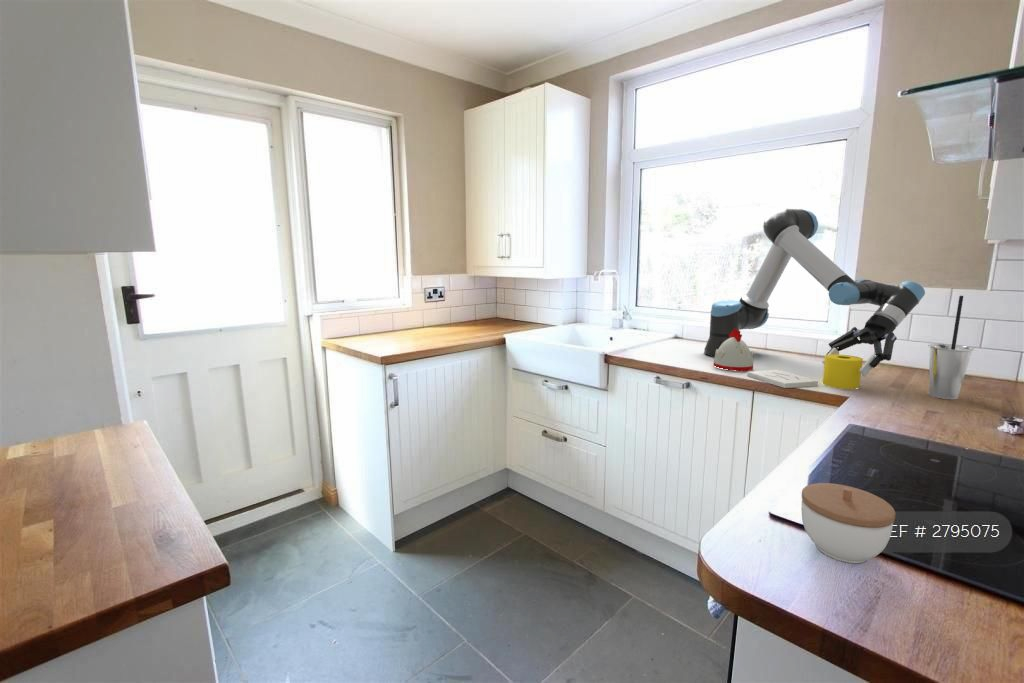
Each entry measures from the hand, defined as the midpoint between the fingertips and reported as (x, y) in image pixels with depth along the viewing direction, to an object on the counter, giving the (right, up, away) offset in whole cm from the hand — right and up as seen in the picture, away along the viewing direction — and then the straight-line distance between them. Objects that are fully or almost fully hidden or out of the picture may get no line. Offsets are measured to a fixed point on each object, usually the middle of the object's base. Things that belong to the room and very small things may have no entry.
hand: (842, 368), depth 153 cm
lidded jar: (-61, -21, -86) cm, 108 cm away
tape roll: (+1, -6, +2) cm, 6 cm away
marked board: (-15, -4, +8) cm, 18 cm away
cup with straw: (+22, -8, -12) cm, 26 cm away
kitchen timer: (-22, -1, +29) cm, 36 cm away
